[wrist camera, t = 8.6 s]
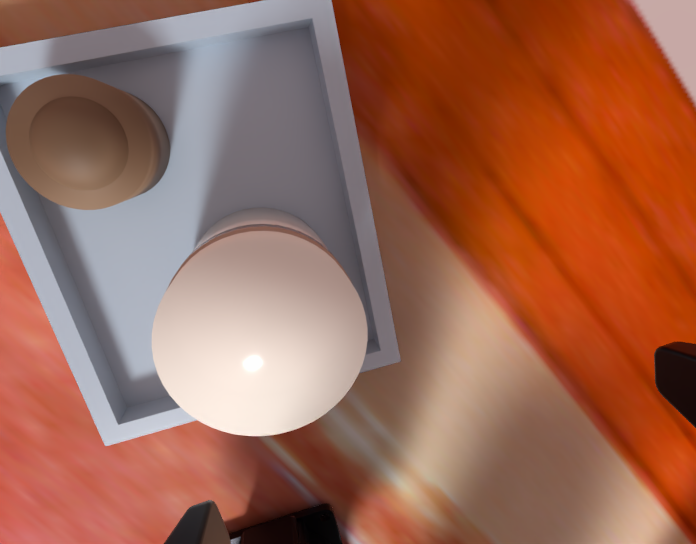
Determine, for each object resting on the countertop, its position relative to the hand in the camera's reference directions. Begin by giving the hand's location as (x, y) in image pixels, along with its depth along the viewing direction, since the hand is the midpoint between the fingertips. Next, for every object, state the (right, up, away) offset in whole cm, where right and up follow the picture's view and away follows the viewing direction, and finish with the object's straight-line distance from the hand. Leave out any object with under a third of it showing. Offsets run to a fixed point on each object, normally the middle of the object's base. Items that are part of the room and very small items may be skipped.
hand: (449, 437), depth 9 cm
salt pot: (-11, +8, +8) cm, 16 cm away
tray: (-8, +5, +10) cm, 14 cm away
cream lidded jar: (-6, +3, +11) cm, 12 cm away
